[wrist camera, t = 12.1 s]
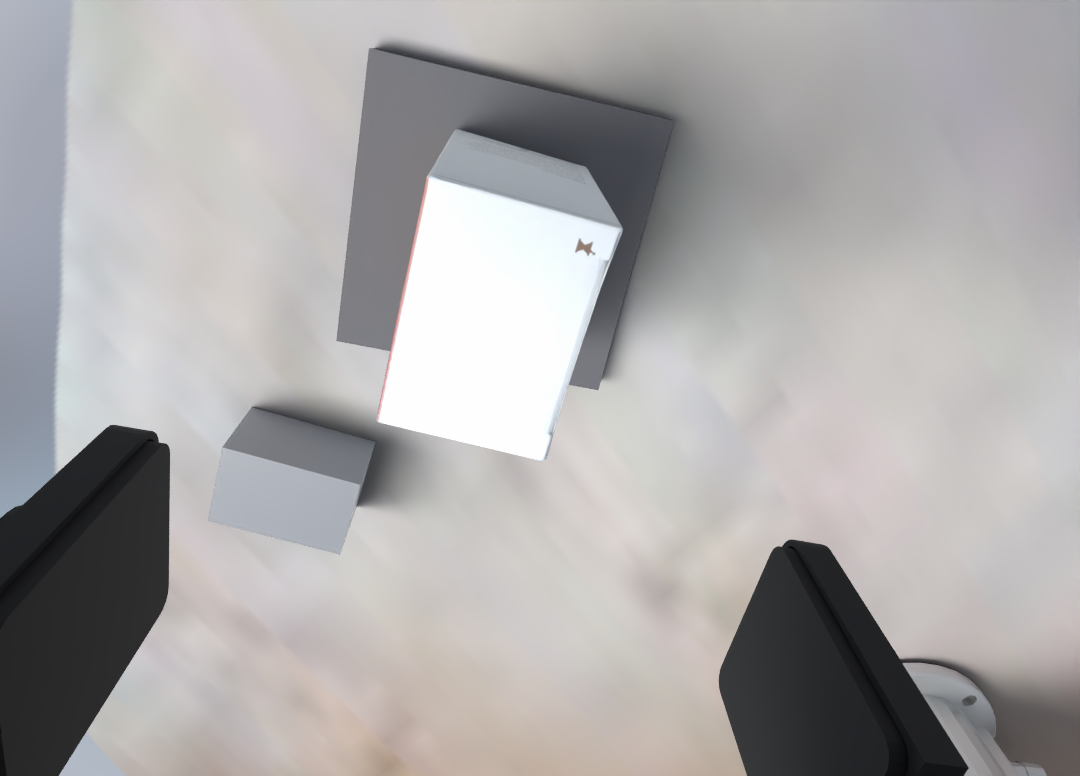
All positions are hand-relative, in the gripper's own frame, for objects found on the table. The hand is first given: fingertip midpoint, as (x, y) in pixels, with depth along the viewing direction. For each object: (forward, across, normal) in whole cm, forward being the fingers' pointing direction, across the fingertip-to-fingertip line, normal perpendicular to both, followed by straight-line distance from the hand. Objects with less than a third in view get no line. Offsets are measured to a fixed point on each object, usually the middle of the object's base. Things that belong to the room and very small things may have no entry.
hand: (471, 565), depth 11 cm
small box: (+21, 0, 0) cm, 21 cm away
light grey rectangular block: (+22, +7, +13) cm, 27 cm away
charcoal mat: (+22, 0, 0) cm, 22 cm away
